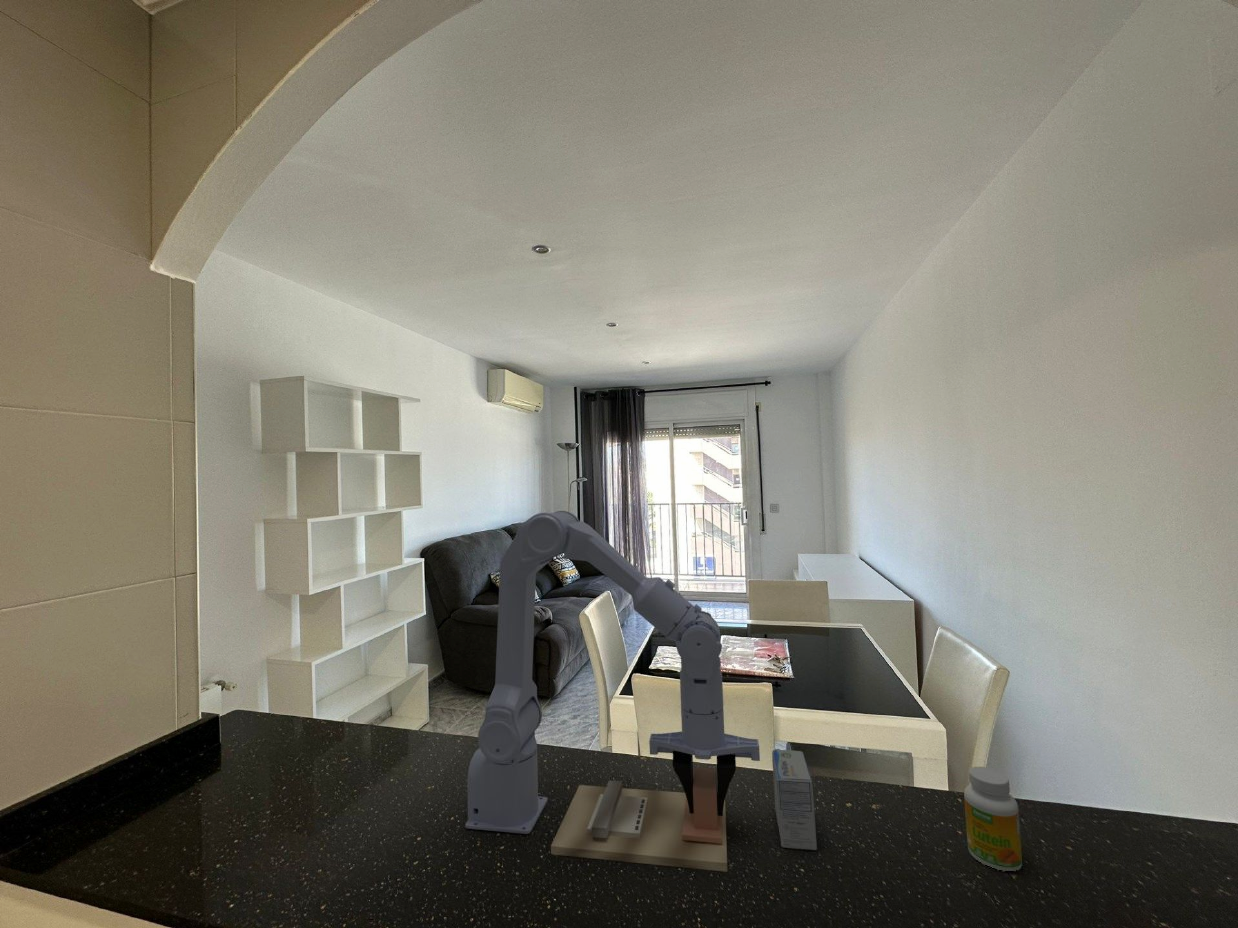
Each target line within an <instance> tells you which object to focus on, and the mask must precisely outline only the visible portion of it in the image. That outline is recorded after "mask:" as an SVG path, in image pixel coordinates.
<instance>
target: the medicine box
mask: <svg viewBox="0 0 1238 928" xmlns="http://www.w3.org/2000/svg"><path fill="white" fill-rule="evenodd" d="M771 752H772V754H771V755H772V756H771V757H772V758H771V759H772V760H771V761H772V762H771V763H772V775H773V777H772V779H773V791H774V792H773V794H774V797H773V798H774V809H775V815H776V821H777V825H778V831H779V833H778V834H779V838H780V845H781V847H782V848H784V849H785V848H787V849H794V850H806V851H807V850H808V851H809V850H810V851H817V850H818V846H817V844H818V843H817V832H816V831H817V830H816V816H815V815H816V814H815V802H814V799H815V798H814V789H813V781H812V776H811V773H810V769H809V767H808V766H809V765H808V763H807V760H806V756H805V754H804V752H803V751H800V750H792V749H791V750H789V749H773V750H772V751H771Z"/></svg>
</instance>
